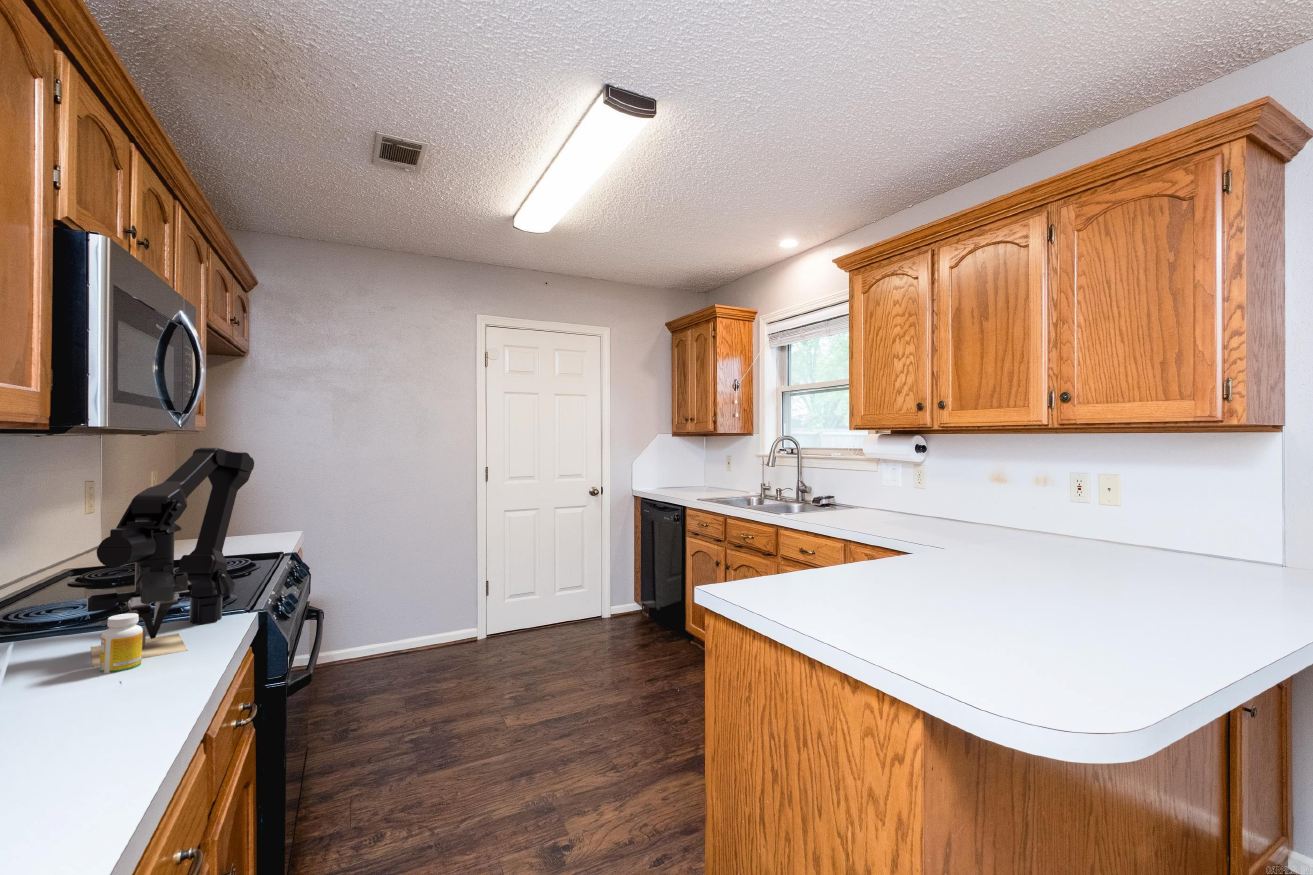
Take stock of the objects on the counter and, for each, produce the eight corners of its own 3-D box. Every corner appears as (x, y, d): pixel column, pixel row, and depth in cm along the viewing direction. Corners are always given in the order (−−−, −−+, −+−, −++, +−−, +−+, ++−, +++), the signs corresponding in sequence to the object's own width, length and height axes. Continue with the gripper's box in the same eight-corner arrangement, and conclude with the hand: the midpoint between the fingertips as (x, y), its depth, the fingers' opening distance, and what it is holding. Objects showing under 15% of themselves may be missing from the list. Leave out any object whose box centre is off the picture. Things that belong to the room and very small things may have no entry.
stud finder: (115, 647, 112) (115, 628, 112) (142, 642, 115) (143, 624, 115) (116, 652, 110) (117, 632, 110) (145, 647, 112) (145, 628, 112)
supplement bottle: (90, 677, 100) (92, 620, 100) (119, 665, 105) (121, 611, 106) (122, 677, 100) (124, 620, 100) (149, 666, 105) (151, 612, 105)
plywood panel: (90, 651, 112) (91, 646, 112) (178, 636, 121) (178, 633, 121) (92, 671, 102) (92, 666, 102) (187, 654, 111) (187, 650, 111)
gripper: (90, 570, 103) (87, 660, 102) (221, 557, 116) (219, 637, 116) (88, 561, 111) (85, 645, 110) (211, 550, 124) (209, 624, 123)
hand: (152, 637), depth 115 cm, fingers closed
